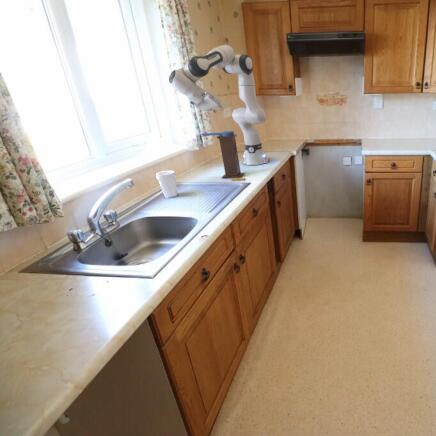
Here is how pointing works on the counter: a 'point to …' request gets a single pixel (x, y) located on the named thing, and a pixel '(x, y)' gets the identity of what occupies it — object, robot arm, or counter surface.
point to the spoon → (226, 133)
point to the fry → (237, 179)
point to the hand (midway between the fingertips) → (219, 111)
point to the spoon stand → (230, 156)
